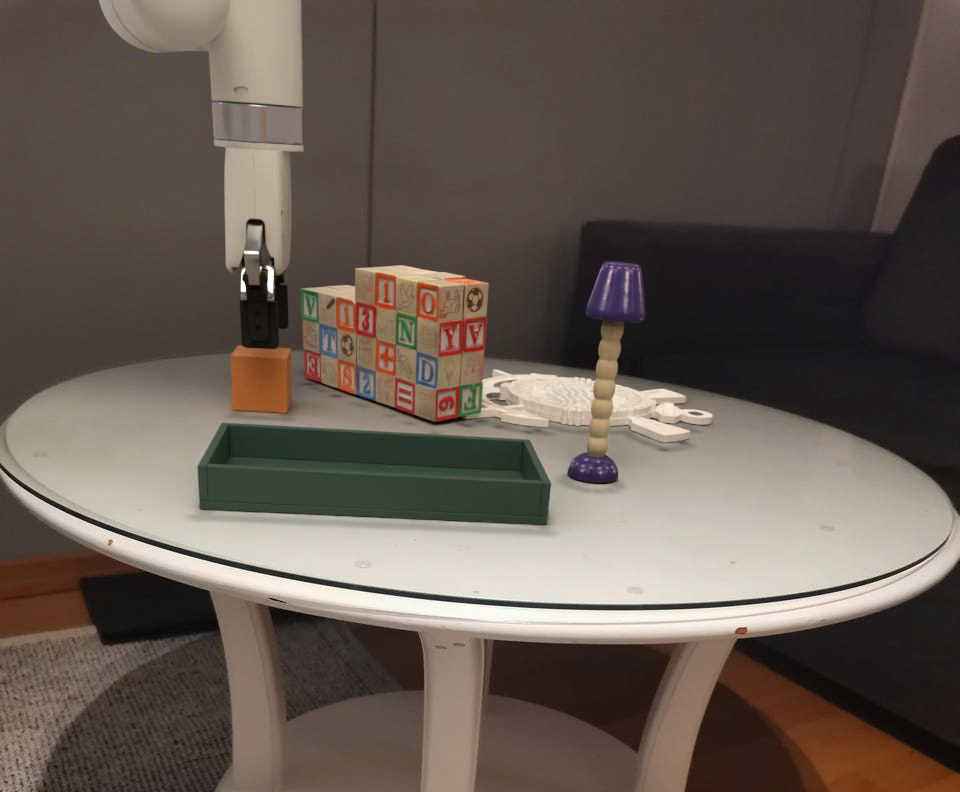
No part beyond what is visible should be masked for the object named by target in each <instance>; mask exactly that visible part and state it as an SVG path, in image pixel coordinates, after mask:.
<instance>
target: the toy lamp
mask: <svg viewBox="0 0 960 792" xmlns="http://www.w3.org/2000/svg"><path fill="white" fill-rule="evenodd" d="M644 290H645V289H644V281H643V272H642V267H641V266H640V265H639V264H637V263H636V264H635V263H630V262H621V261H605V262H602V265H601V266H600V269H599V272H598V273H597V277H596V280H595V281H594V286H593V287H592V290H591V293H590V296H589V298H588V301H587V304H586V306H585V315H586V317H588V318H591V319H595V320H601V321H602V322H601V325H600V335H601V340H600V342H599V345H598V351H597V352H598V357H599V358H598V360H597V362H596V366H595V375H596V378H595V380H594V381H595V382H594V386H593V394H594V397H595V398H594V399H593V401H592V404H591V414H592V418H591V420H590V423H589V425H588V432H589V436H588V438H587V441H586V451H587V452H583V453H580V454H578V455H576V456H575V457H574V458H573V459H572V460H571V461H570V463H569V466H568V468H567V475H568V476H569V477H570V478H572V479H573V480H578V481H581V482H585V483H586V482H587V483H593V484H594V483H595V484H607V483H612V482H615V481H617V480H618V479H619V467H618V466H617V464H616V462H615V461H614V460H613V458H612V457H610V456H609V455H607V454H606V453H607V452H608V448H609V440H608V436H609V434H610V431H611V426H610V419H609V418H610V416H611V414H612V411H613V402H612V397H613V395H614V393H615V384H616V382H615V378H616V377H617V375H618V371H619V363H618V359H619V357H620V355H621V351H622V343H621V339H622V337H623V335H624V329H625V324H624V323H642V322H644V321H645V319H646V302H645V291H644Z"/></svg>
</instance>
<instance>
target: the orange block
mask: <svg viewBox="0 0 960 792" xmlns="http://www.w3.org/2000/svg"><path fill="white" fill-rule="evenodd" d="M230 374H231V397H232V398H231V400H232V401H231V402H232V403H231V404H232V405H231V406H232V411H243V412H259V413H260V412H261V413H278V414H287V413H288V411H289V408H290V406H291V404H292V348H289V347H278V348H277V349H261V348H245V347H243V345H242V344H241V345H240V344H238V345H237V346H236V347H235V349H234V350H233V351H232V353H231V355H230Z"/></svg>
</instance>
